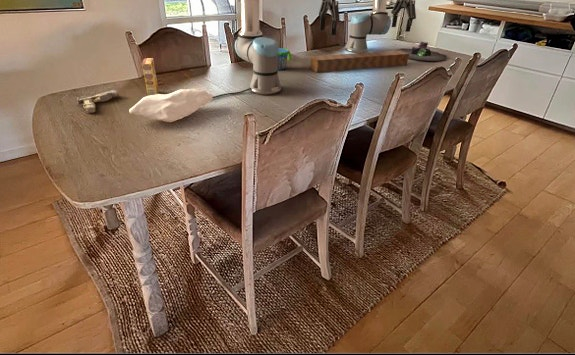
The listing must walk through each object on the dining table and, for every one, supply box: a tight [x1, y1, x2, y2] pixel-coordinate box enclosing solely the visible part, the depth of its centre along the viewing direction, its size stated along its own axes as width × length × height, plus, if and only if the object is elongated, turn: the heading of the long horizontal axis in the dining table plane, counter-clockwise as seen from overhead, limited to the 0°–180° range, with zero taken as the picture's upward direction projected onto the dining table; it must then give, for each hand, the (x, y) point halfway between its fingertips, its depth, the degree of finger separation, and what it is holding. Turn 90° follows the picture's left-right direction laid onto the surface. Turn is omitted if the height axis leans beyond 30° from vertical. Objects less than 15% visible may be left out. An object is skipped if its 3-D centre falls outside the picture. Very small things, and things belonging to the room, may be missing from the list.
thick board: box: [309, 49, 410, 73], centre depth 218 cm, size 62×9×7 cm, turn 112°
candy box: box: [141, 57, 160, 96], centre depth 163 cm, size 9×4×15 cm, turn 13°
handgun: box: [76, 89, 120, 114], centre depth 155 cm, size 3×18×15 cm
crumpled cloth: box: [129, 88, 214, 123], centre depth 147 cm, size 24×35×9 cm
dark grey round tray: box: [394, 41, 447, 62], centre depth 246 cm, size 35×35×9 cm
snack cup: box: [278, 47, 292, 71], centre depth 207 cm, size 16×10×10 cm
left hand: (327, 32), depth 200 cm, fingers open, 13 cm apart
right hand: (400, 29), depth 216 cm, fingers open, 13 cm apart
